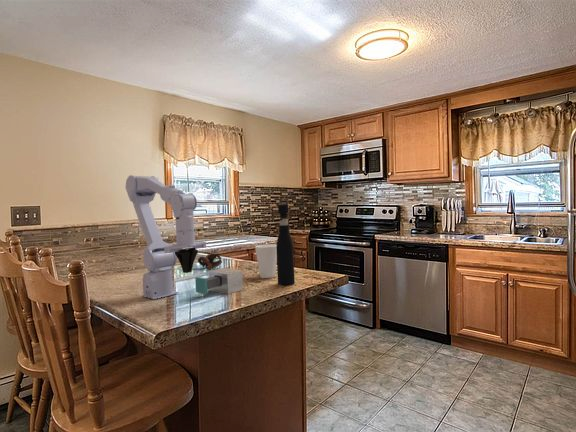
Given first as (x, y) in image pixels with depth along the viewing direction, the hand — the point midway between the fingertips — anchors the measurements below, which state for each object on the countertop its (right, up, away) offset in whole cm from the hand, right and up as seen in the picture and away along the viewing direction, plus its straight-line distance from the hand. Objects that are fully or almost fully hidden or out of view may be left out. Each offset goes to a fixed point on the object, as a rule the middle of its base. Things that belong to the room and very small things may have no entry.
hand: (187, 272), depth 112 cm
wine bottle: (+32, -8, +19) cm, 38 cm away
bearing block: (+10, -9, +13) cm, 19 cm away
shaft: (+6, -7, +8) cm, 12 cm away
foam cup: (+24, -7, +33) cm, 42 cm away
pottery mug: (-5, -8, +57) cm, 58 cm away
